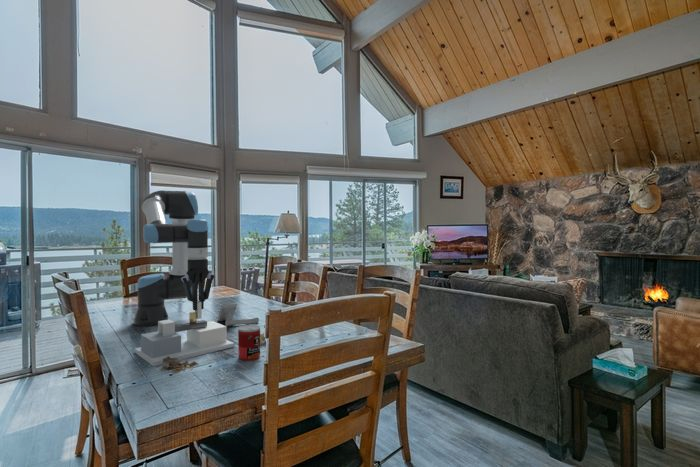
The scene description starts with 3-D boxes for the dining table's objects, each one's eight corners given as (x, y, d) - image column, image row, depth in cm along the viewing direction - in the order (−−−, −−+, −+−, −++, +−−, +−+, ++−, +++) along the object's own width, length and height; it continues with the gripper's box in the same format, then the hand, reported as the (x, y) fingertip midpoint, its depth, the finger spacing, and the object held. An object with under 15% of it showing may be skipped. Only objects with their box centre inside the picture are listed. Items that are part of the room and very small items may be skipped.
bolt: (171, 331, 149) (171, 315, 149) (203, 324, 158) (203, 310, 158) (174, 332, 147) (174, 316, 147) (207, 326, 156) (207, 311, 156)
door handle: (219, 334, 194) (223, 322, 178) (217, 318, 197) (221, 305, 181) (255, 329, 201) (262, 317, 185) (253, 314, 205) (259, 301, 188)
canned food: (249, 362, 138) (249, 331, 138) (233, 358, 142) (233, 328, 142) (264, 356, 144) (264, 326, 144) (249, 352, 149) (249, 323, 148)
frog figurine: (150, 374, 128) (150, 363, 128) (172, 361, 140) (172, 351, 140) (183, 377, 126) (183, 365, 126) (202, 363, 138) (202, 352, 138)
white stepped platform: (134, 352, 148) (134, 320, 148) (210, 336, 169) (210, 308, 169) (153, 366, 134) (153, 331, 134) (233, 346, 155) (233, 316, 155)
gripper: (185, 260, 147) (185, 322, 148) (217, 258, 156) (218, 316, 157) (177, 258, 152) (177, 319, 153) (209, 256, 162) (209, 313, 162)
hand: (198, 318), depth 155 cm, fingers closed
